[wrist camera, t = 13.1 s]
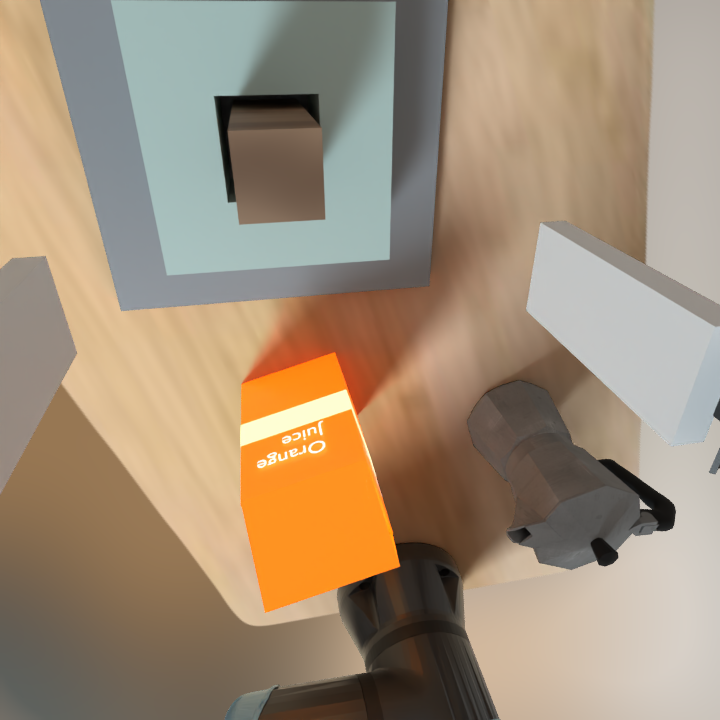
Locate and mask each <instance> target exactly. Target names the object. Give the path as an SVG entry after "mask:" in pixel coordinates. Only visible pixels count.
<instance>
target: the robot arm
mask: <svg viewBox="0 0 720 720" xmlns="http://www.w3.org/2000/svg"><path fill="white" fill-rule="evenodd" d="M526 311H527V312H528V313H529V314H531V315H532V316H533V317H534V318H535V319H536V320H537V321H538V322H539V323H540V324H541V325H542V326H543V327H544V328H545V329H546V330H548V331H549V332H550V333H551V334H552V335H553V336H554V337H555V338H556V339H557V340H558V341H559V342H560V343H561V344H562V345H563V346H565V347H566V348H567V349H568V350H569V351H570V352H571V353H572V354H573V355H574V356H575V357H576V358H577V359H578V360H579V361H580V362H582V363H583V364H584V365H585V366H586V367H587V368H588V369H589V370H590V371H591V372H592V373H593V374H594V375H595V376H596V377H598V378H599V379H600V380H601V381H602V382H603V383H604V384H605V385H606V386H607V387H608V388H609V389H610V390H611V391H612V392H613V393H615V394H616V395H617V396H618V397H619V398H620V399H621V400H622V401H623V402H624V403H625V404H626V405H627V406H628V407H629V408H630V409H632V410H633V411H634V412H635V413H636V414H637V415H638V416H639V417H640V418H641V419H642V420H643V421H644V422H645V423H646V424H648V425H649V426H650V427H651V428H652V429H653V430H654V431H655V432H656V433H657V434H658V435H659V436H660V437H661V438H662V439H664V440H665V441H666V442H667V443H668V444H669V445H670V446H677V445H684V444H691V443H698V442H704V440H705V438H706V435H707V433H708V430H709V427H710V425H711V423H712V420H713V418H714V417H715V418H717V419H718V420H719V421H720V305H719V304H717V303H715V302H713V301H711V300H710V299H708V298H706V297H704V296H702V295H700V294H699V293H697V292H695V291H693V290H691V289H689V288H687V287H686V286H684V285H682V284H680V283H678V282H677V281H675V280H673V279H671V278H669V277H667V276H665V275H664V274H662V273H660V272H658V271H656V270H655V269H653V268H651V267H649V266H647V265H645V264H644V263H642V262H640V261H638V260H636V259H634V258H633V257H631V256H629V255H627V254H625V253H623V252H622V251H620V250H618V249H616V248H614V247H612V246H611V245H609V244H607V243H605V242H603V241H601V240H600V239H598V238H596V237H594V236H592V235H591V234H589V233H587V232H585V231H583V230H581V229H580V228H578V227H576V226H574V225H572V224H570V223H569V222H567V221H555V222H541V223H540V229H539V235H538V241H537V247H536V253H535V259H534V265H533V271H532V277H531V284H530V290H529V296H528V302H527V308H526ZM76 354H77V351H76V348H75V345H74V342H73V339H72V336H71V333H70V329H69V326H68V323H67V320H66V317H65V314H64V311H63V308H62V305H61V302H60V299H59V296H58V293H57V290H56V286H55V283H54V280H53V277H52V274H51V271H50V268H49V265H48V262H47V259H46V256H41V257H27V258H12V259H11V260H10V261H9V262H8V263H7V264H6V265H4V266H3V267H2V268H1V269H0V494H1V492H2V490H3V488H4V487H5V485H6V483H7V481H8V479H9V477H10V476H11V474H12V472H13V470H14V468H15V466H16V464H17V463H18V461H19V459H20V457H21V455H22V453H23V452H24V450H25V448H26V446H27V444H28V442H29V441H30V439H31V437H32V435H33V433H34V431H35V429H36V427H37V426H38V424H39V422H40V420H41V419H42V417H43V415H44V413H45V411H46V409H47V407H48V406H49V404H50V402H51V400H52V398H53V396H54V395H55V393H56V391H57V389H58V387H59V385H60V384H61V382H62V380H63V378H64V376H65V374H66V373H67V371H68V369H69V367H70V365H71V363H72V362H73V360H74V358H75V356H76ZM719 468H720V448H719V451H718V453H717V455H716V458H715V460H714V462H713V465H712V467H711V469H710V471H709V473H712V474H716V472H717V470H718V469H719ZM395 547H396V551H397V556H398V560H399V564H400V567H397V568H394V569H391V570H388V571H385V572H382V573H379V574H376V575H374V576H371V577H368V578H365V579H362V580H359V581H356V582H353V583H350V584H348V585H345V586H342V587H339V588H338V592H337V600H338V605H339V611H340V616H341V619H342V622H343V623H344V625H345V627H346V629H347V631H348V632H349V634H350V636H351V638H352V639H353V641H354V643H355V645H356V646H357V648H358V650H359V652H360V654H361V656H362V657H363V659H364V662H365V667H366V672H367V673H362V674H356V675H349V676H343V677H337V678H331V679H324V680H319V681H312V682H306V683H300V684H294V685H288V686H282V687H280V685H274V686H272V687H271V688H269V689H266V690H262V691H258V692H253V693H248V694H245V695H242V696H240V697H239V698H237V699H236V700H235V701H234V703H233V704H232V705H231V707H230V709H229V710H228V712H227V714H226V717H225V720H500V719H499V717H498V714H497V712H496V709H495V706H494V704H493V701H492V699H491V696H490V693H489V691H488V688H487V686H486V683H485V680H484V678H483V675H482V673H481V670H480V668H479V665H478V662H477V660H476V657H475V654H474V652H473V649H472V647H471V644H470V642H469V639H468V637H467V633H466V631H465V620H464V599H463V583H462V579H461V576H460V573H459V571H458V568H457V566H456V563H455V561H454V560H453V558H452V557H451V556H450V555H449V554H448V553H447V552H445V551H444V550H442V549H440V548H438V547H435V546H432V545H428V544H420V543H408V544H399V545H395Z"/></svg>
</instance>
